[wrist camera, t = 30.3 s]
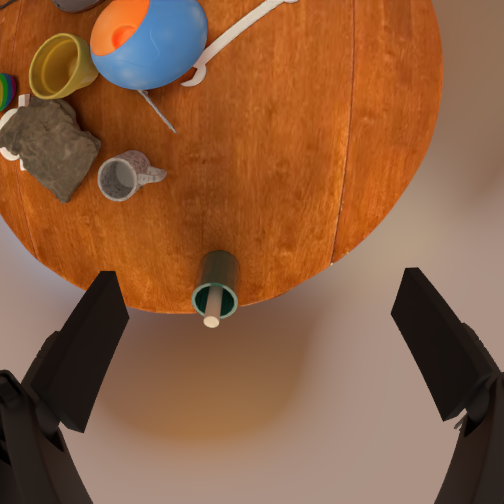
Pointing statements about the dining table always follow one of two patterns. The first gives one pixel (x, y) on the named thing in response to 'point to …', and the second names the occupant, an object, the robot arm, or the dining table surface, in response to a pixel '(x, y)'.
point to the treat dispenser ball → (148, 41)
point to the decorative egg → (6, 90)
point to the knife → (156, 109)
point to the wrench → (230, 38)
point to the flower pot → (61, 67)
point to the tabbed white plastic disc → (22, 102)
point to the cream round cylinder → (213, 306)
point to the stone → (51, 144)
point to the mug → (127, 175)
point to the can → (217, 282)
